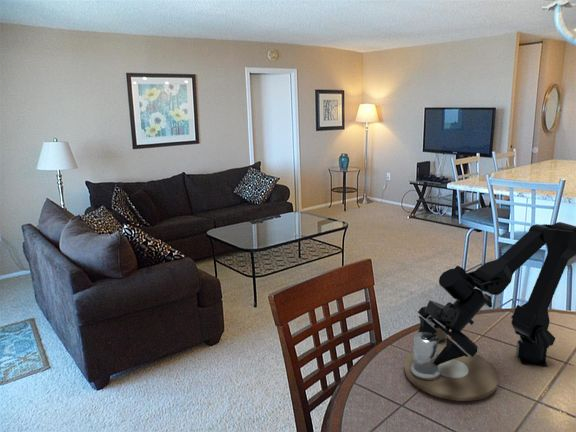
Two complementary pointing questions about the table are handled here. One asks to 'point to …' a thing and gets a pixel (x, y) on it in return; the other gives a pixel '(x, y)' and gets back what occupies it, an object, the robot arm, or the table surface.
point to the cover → (425, 356)
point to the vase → (440, 334)
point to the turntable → (458, 378)
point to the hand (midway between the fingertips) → (424, 354)
